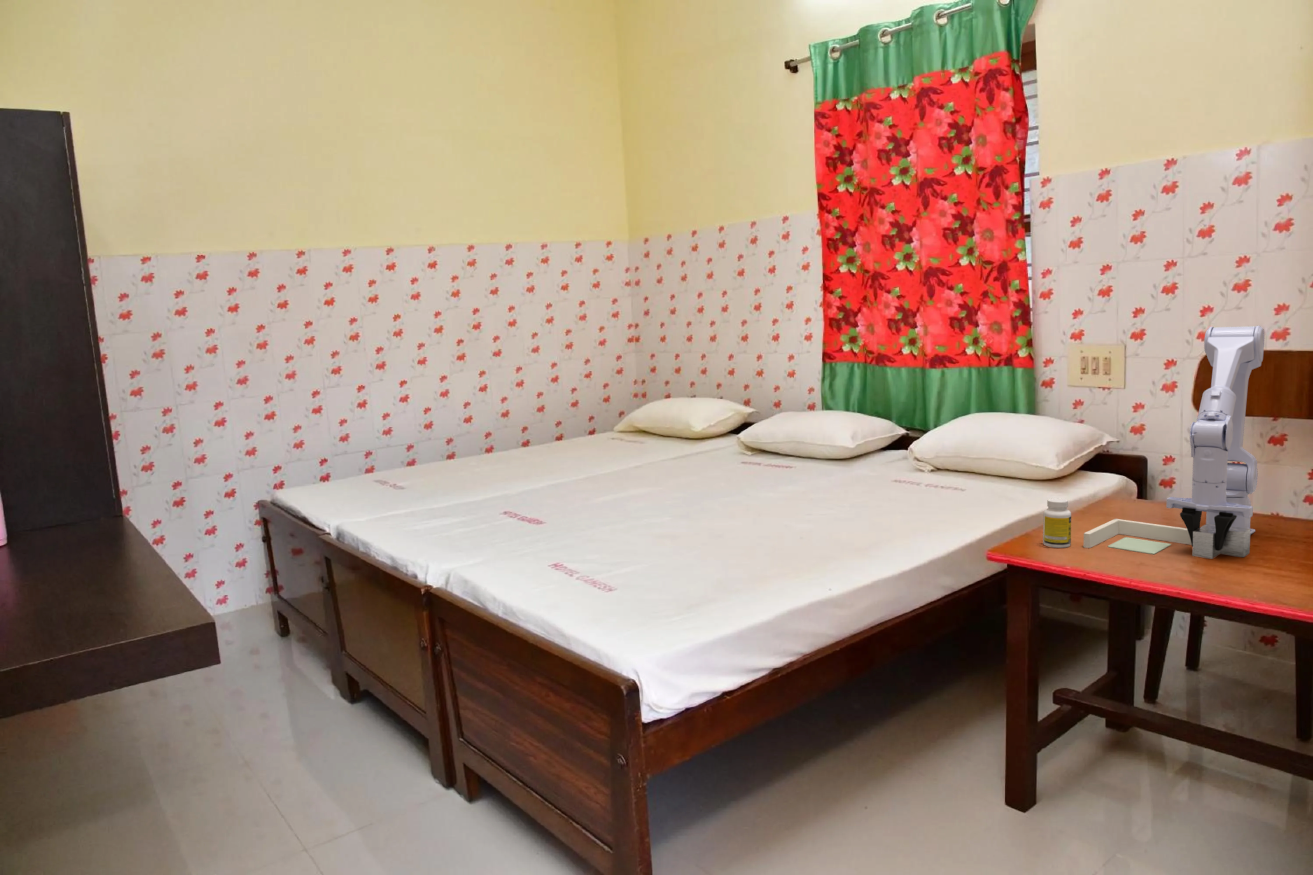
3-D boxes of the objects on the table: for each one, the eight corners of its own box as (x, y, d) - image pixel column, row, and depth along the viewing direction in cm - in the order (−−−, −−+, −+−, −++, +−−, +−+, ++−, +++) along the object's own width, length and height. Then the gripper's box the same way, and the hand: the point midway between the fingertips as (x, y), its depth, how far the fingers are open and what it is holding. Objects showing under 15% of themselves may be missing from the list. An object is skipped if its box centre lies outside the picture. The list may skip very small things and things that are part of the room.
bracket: (1206, 546, 179) (1207, 523, 178) (1249, 553, 173) (1250, 528, 172) (1192, 555, 174) (1193, 531, 173) (1235, 562, 168) (1236, 537, 167)
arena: (1115, 531, 193) (1115, 518, 193) (1193, 543, 182) (1194, 529, 181) (1083, 547, 184) (1083, 533, 183) (1164, 560, 172) (1164, 545, 171)
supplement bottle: (1073, 548, 183) (1074, 502, 182) (1046, 548, 184) (1046, 503, 183) (1067, 541, 188) (1067, 497, 187) (1040, 541, 189) (1040, 497, 188)
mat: (1125, 537, 188) (1125, 537, 188) (1171, 544, 182) (1171, 543, 182) (1107, 546, 183) (1107, 546, 183) (1154, 554, 176) (1154, 553, 176)
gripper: (1161, 479, 175) (1159, 545, 177) (1245, 488, 164) (1242, 558, 166) (1174, 473, 179) (1172, 538, 181) (1257, 481, 168) (1254, 550, 170)
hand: (1206, 547), depth 174 cm, fingers closed on bracket, 3 cm apart
